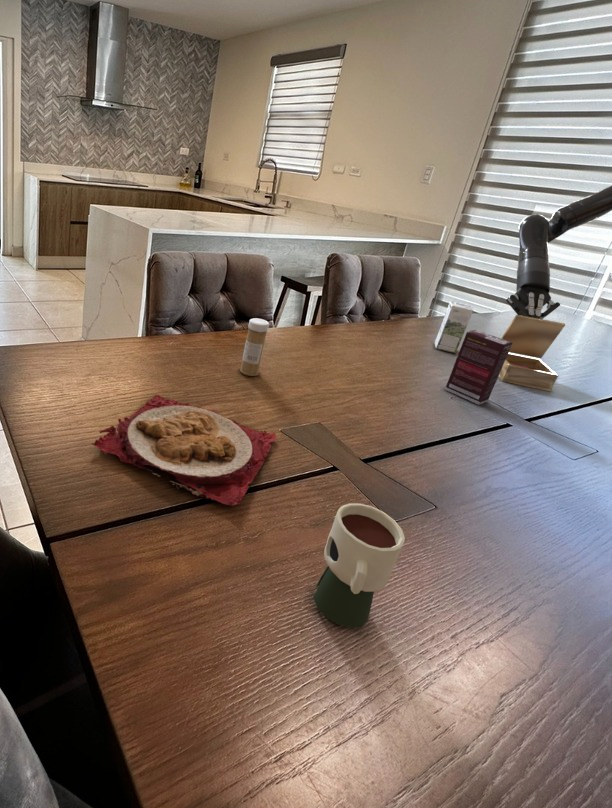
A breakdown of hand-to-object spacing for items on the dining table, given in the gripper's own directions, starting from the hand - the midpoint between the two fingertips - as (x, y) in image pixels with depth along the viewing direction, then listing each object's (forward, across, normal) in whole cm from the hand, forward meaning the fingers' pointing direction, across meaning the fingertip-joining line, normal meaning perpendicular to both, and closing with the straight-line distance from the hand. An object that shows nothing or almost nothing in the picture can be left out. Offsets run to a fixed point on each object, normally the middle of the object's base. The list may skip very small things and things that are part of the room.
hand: (532, 329), depth 130 cm
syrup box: (+3, +16, -16) cm, 23 cm away
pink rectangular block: (+12, 0, -5) cm, 13 cm away
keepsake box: (+12, 0, -7) cm, 14 cm away
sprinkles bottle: (+39, +71, +20) cm, 84 cm away
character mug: (+82, +52, +63) cm, 115 cm away
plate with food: (+65, +77, +46) cm, 110 cm away
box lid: (+2, 0, -1) cm, 2 cm away
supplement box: (+28, +19, +9) cm, 35 cm away
